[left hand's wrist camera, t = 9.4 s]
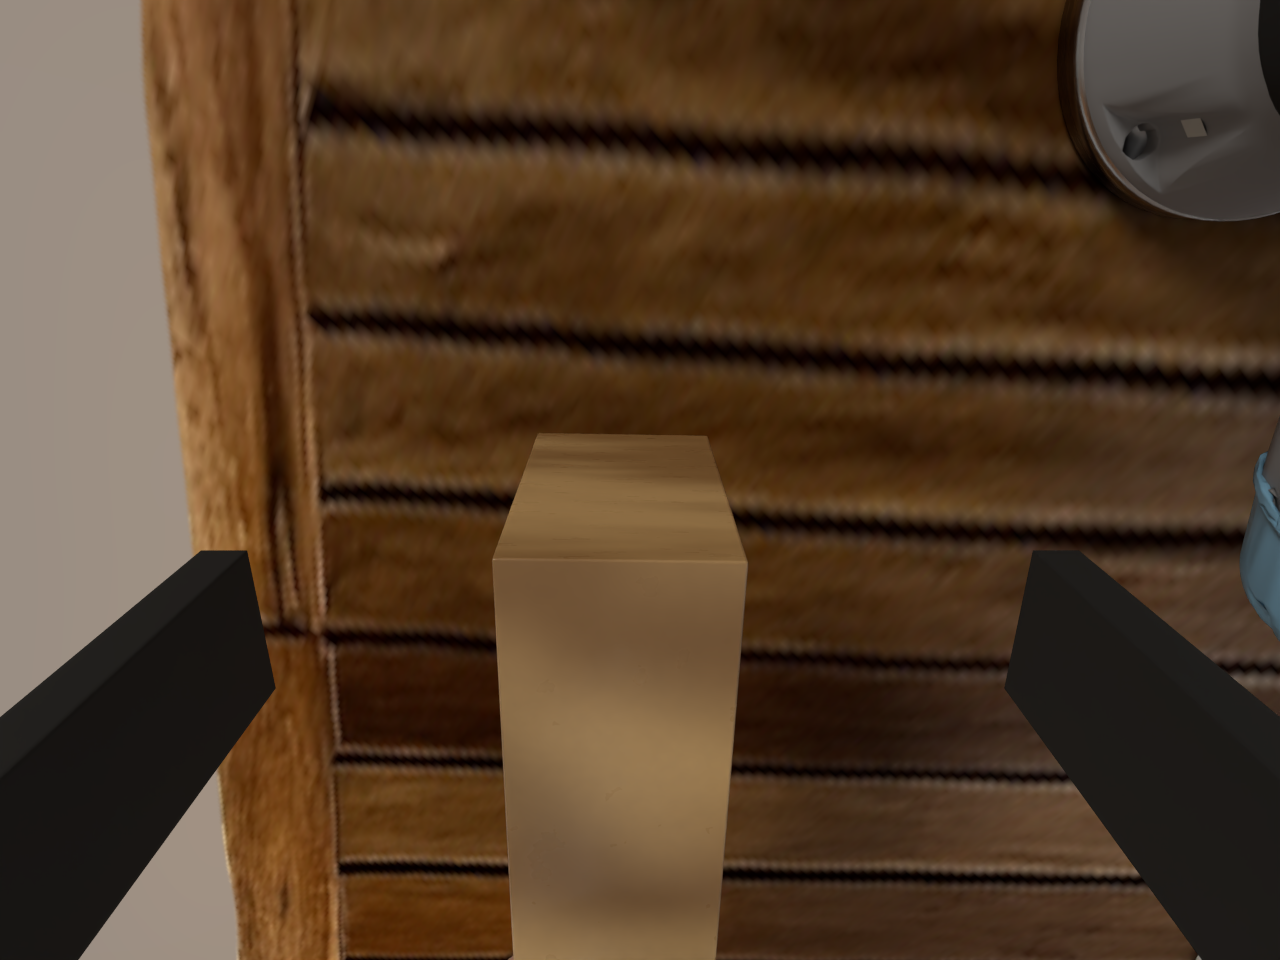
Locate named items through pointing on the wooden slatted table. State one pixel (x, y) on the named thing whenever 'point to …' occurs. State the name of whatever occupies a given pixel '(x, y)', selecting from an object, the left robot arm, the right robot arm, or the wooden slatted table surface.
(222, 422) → the wooden slatted table surface
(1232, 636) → the wooden slatted table surface
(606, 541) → the bar
